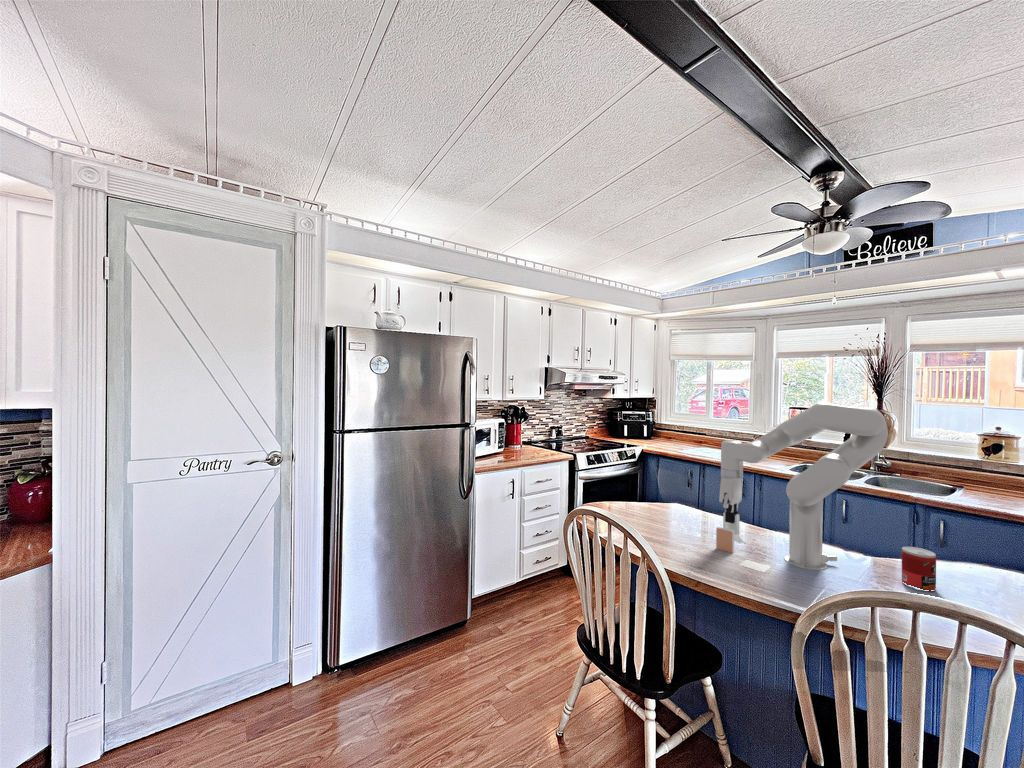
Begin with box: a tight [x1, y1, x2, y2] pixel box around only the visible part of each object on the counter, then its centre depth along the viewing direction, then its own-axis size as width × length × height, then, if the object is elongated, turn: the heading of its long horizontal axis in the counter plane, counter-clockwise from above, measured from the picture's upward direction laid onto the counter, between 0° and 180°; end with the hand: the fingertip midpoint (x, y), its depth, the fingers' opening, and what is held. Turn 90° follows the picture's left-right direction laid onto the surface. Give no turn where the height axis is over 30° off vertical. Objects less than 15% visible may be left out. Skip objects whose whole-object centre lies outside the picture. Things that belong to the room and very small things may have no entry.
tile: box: [715, 526, 735, 554], centre depth 164 cm, size 1×6×8 cm, turn 42°
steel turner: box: [722, 506, 740, 535], centre depth 168 cm, size 2×5×10 cm, turn 43°
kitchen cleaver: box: [734, 533, 746, 545], centre depth 184 cm, size 24×1×10 cm
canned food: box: [901, 546, 937, 591], centre depth 137 cm, size 8×8×11 cm
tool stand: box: [738, 559, 772, 573], centre depth 150 cm, size 7×8×1 cm
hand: (731, 521), depth 168 cm, fingers closed on steel turner, 2 cm apart
